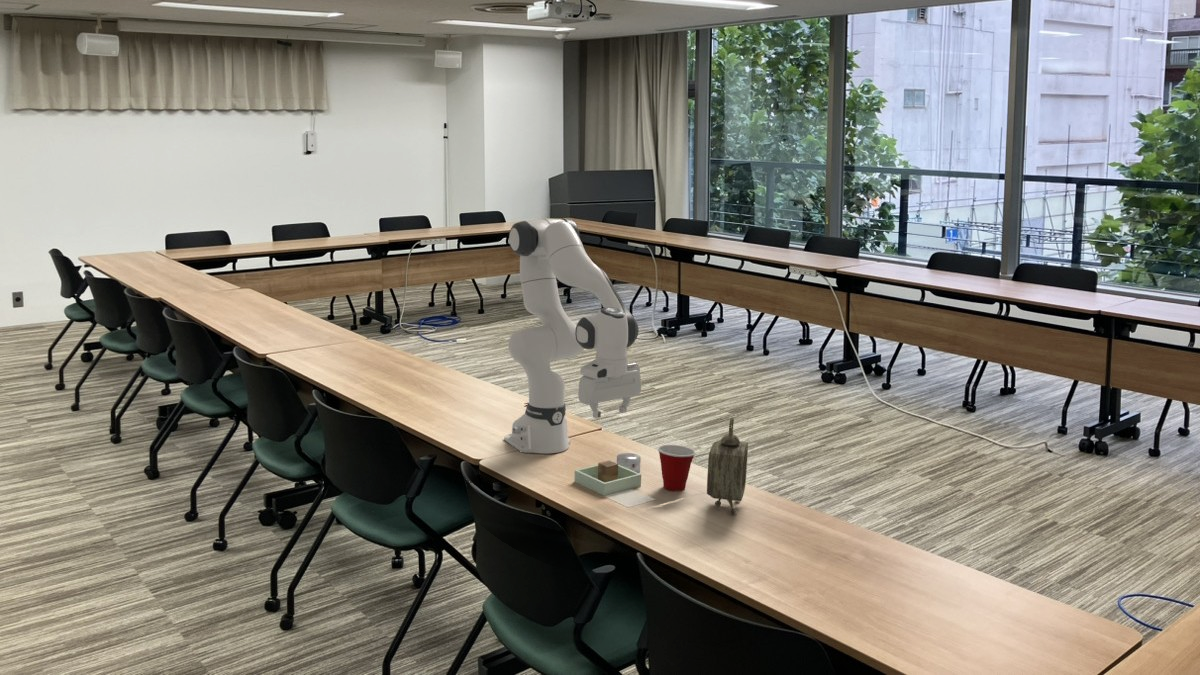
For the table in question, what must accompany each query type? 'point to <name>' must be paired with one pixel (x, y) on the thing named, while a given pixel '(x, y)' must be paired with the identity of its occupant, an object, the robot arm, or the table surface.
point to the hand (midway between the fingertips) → (609, 414)
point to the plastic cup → (675, 465)
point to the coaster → (629, 498)
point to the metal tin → (629, 461)
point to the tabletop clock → (727, 469)
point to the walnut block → (607, 471)
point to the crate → (624, 481)
